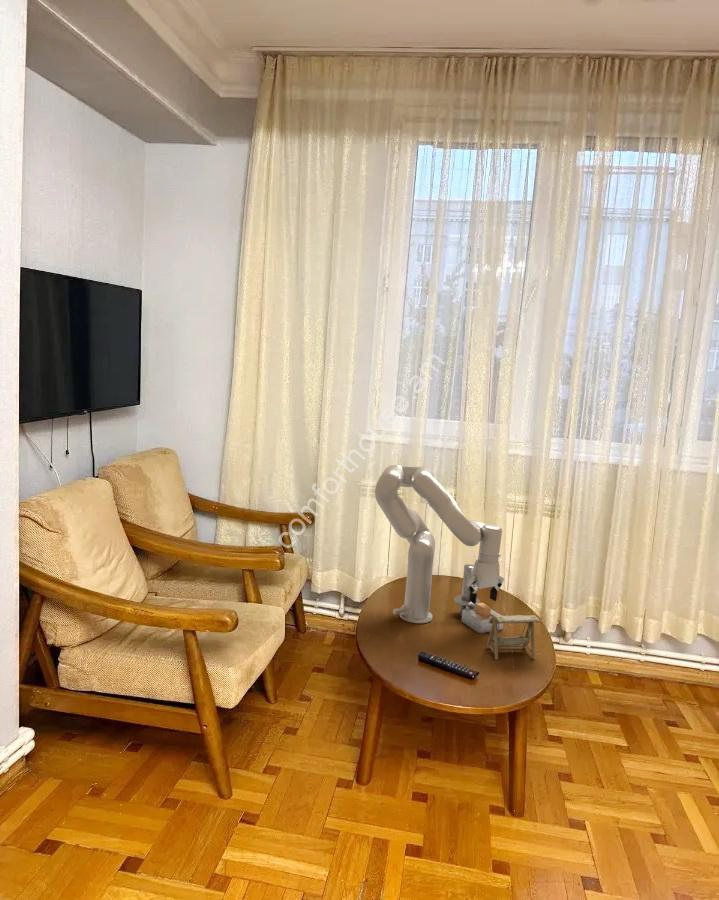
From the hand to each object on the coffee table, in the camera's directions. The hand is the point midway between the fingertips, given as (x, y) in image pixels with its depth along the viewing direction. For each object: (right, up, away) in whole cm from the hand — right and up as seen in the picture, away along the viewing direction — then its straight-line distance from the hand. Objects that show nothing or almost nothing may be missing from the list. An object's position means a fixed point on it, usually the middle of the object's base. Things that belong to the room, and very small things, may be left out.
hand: (482, 601), depth 257 cm
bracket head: (-2, -9, +6) cm, 11 cm away
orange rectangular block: (0, -10, +1) cm, 10 cm away
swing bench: (+6, -14, -21) cm, 26 cm away
